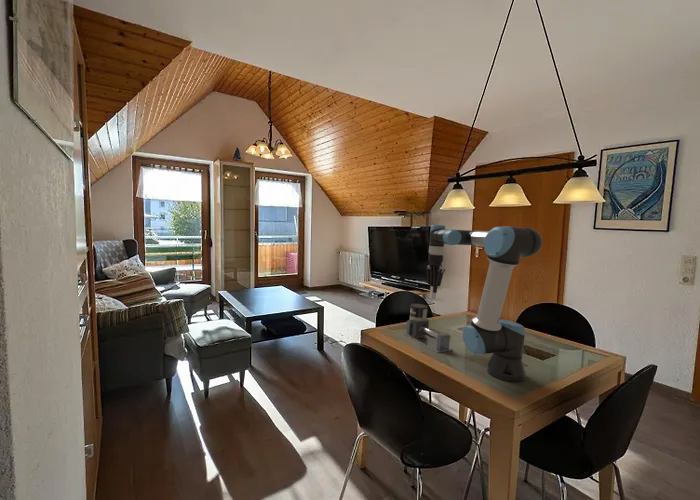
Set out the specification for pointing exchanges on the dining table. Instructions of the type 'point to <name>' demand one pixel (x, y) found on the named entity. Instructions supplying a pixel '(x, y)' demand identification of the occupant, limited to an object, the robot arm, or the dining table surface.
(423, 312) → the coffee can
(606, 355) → the dining table surface
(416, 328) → the collar
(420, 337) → the rail
